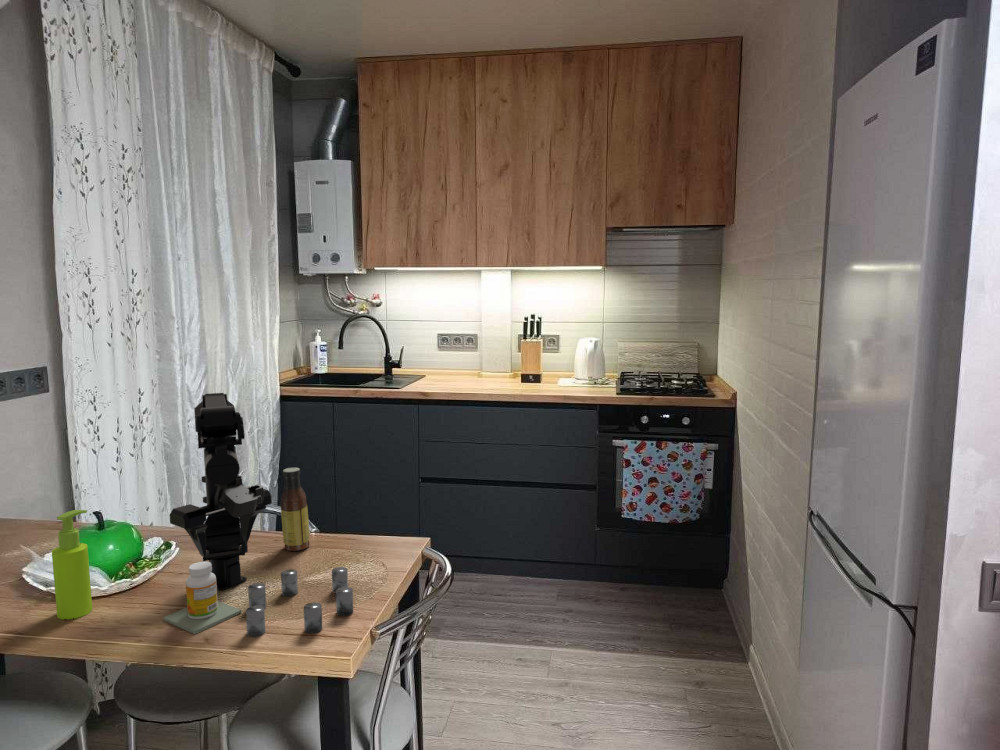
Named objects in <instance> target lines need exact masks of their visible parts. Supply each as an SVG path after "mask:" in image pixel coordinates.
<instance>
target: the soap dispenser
mask: <svg viewBox="0 0 1000 750" xmlns="http://www.w3.org/2000/svg"><path fill="white" fill-rule="evenodd" d="M87 513H88V509H74V510H73V509H72V510H70V511H67V512H64V513H62V514H60V515H58V516H56V519H57V520H58V521H61V523H62V529H61V530H59V531H58V533H57V537H58V538H57V539H58V546H57V547H55V548H54V549H52V551H51V559H52V561H51V562H52V572H53V582H54V583H53V584H54V595H55V596H54V597H55V605H56V607H55V608H56V617H57V618H58V619H59V618H60V619H59V620H64V619H67V620H75V619H79V618H81V617H84V616H86V615H88V614H90V613H91V612H92V610H93V599H92V587H91V586H92V585H91V575H90V564H89V563H90V560H89V551H88V550H89V549H88V544H86V543H83V542H80V532H79V531H80V530H79V529H78V528H76V527H74V519H73V518H74V517H76V516H79V515H81V514H87ZM73 618H74V619H73Z"/></svg>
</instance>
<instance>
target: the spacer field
mask: <svg viewBox="0 0 1000 750" xmlns="http://www.w3.org/2000/svg"><path fill="white" fill-rule="evenodd" d="M348 575H349V574H348V568H347V567H344V566H338V567H334V568H333V569H332V570H331V585H332V586H331V588H332V591H333V592H335V593H336V594H335V593H334V594H335V605H336V606H335V607H336V608H335V609H336V615H337V614H338V615H337V616H339V615H340V616H339V617H347V616H350V614H351V615H352V614H353V613H354V594H353V593H354V592H353V588H352V587H349V581H348ZM280 581H281V582H280V583H281V584H280V585H281V595H282V597H293V595H294V596H296V595H297V594H298V593H299V588H298V587H299V586H298V584H299V583H298V571H297V570H296V569H294V568H293V569H291V568H289V569H285V570H282V571H281V573H280ZM247 589H248V590H247V591H248V595H247V597H248V607H247V608H246V610H245V616H246V617H245V618H246V635H247V636H248V637H250V638H251V637H252V638H256V637H260V636H263V635H264V634H265V633H266V614H265V609H266V608H267V596H266V595H267V593H266V584H265V583H263V582H256V583H251V584H249V585H248V587H247ZM333 592H332V593H333ZM295 594H296V595H295ZM322 609H323V607H322V603H321V602H309V603H308V602H307V604H304V606H303V625H304V628H303V629H304V632H305V634H311V635H313V634H317V633H320V632H321V631H322V630H323V613H322V611H323V610H322Z"/></svg>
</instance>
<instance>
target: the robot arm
mask: <svg viewBox="0 0 1000 750" xmlns="http://www.w3.org/2000/svg"><path fill="white" fill-rule="evenodd" d="M201 396H202V397H201V398H202V399H201V400H202V401H201V402H200V403H198V404H197V405H196V406H195V407H194V422H195V425H194V426H195V427H194V428H195V433H197V443H198V444H197V445H198V449H203V459H204V460H203V461H204V476H201V482H202V483H204V484H205V491H206V493H205V494H206V496H203V497H202V503H203V504H206V505H204V506H201V507H200V506H198V505H193V504H191V503H190V504H186V505H182V506H177V507H175V508H172V510H171V511H170V513H169V524H171V525H174V526H177V527H179V528H181V529H184V530H185V531H186V533H187V534H188V535H189V537H190V539H191V540H192V542H193V544H194V546H195V547H196V549H197V551H198V552H199V555H200V556H201V557H202V562H210V563H211V565H212V571H211V573H213V574H215V576H216V585H217V591H224V590H226V589H229V588H232V587H233V586H237V585H238V584H241V583H243V582H246V581H247V577H246V576H243V575H242V572H241V571H242V569H241V563H240V557H241V556H246V553H248V552H249V550H248V549H249V547H248V546H249V545H248V542H249V539H250V537H251V533H252V530H253V528H254V525H255V522H256V519H257V517H258V515H259V514H260V513H261V512H262V511H264V510H266V509H267V506H268V505H272V503H273V499H272V497H273V495H272V493H271V492H270V490H268V489H266V488H264V486H263V485H262V484H260V483H257V484H254V485H251V486H244V484H243V478H242V476H241V475H240V464H239V460H238V456H237V450H236V449H237V447H236V446H239V445H240V446H241V445H243V440H245V427H244V418H243V416H241V412H239V411H236V407H235V405H234V404H233V403H231V402H230V401H229V400H228V394H227V393H224V392H217V393H216V392H213V393H211V392H210V393H205V394H203V395H201Z"/></svg>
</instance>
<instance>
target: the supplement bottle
mask: <svg viewBox="0 0 1000 750" xmlns="http://www.w3.org/2000/svg"><path fill="white" fill-rule="evenodd" d="M211 571H212V565H211V563H210V562H209V561H204V562H203V561H199V562H195V563H191V564H190V565H189V567H188V575H189V576H188V577H187V578H186V580H185V595H186V608H187V612H188V616H189V617H190V618H192V619H204V618H208V617H211V616H213V615H214V614H216V612H217V611H218V602H217V600H218V589H217V585H216V576H215V574H213V573H211Z"/></svg>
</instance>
